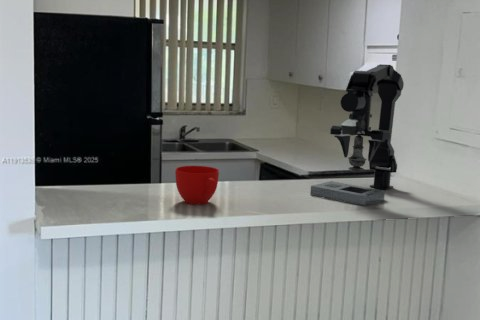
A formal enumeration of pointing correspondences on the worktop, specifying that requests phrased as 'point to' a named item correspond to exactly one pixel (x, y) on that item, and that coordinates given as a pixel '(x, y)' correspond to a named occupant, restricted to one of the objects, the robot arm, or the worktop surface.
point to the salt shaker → (357, 155)
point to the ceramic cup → (196, 183)
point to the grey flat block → (347, 193)
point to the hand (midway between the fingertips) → (357, 159)
